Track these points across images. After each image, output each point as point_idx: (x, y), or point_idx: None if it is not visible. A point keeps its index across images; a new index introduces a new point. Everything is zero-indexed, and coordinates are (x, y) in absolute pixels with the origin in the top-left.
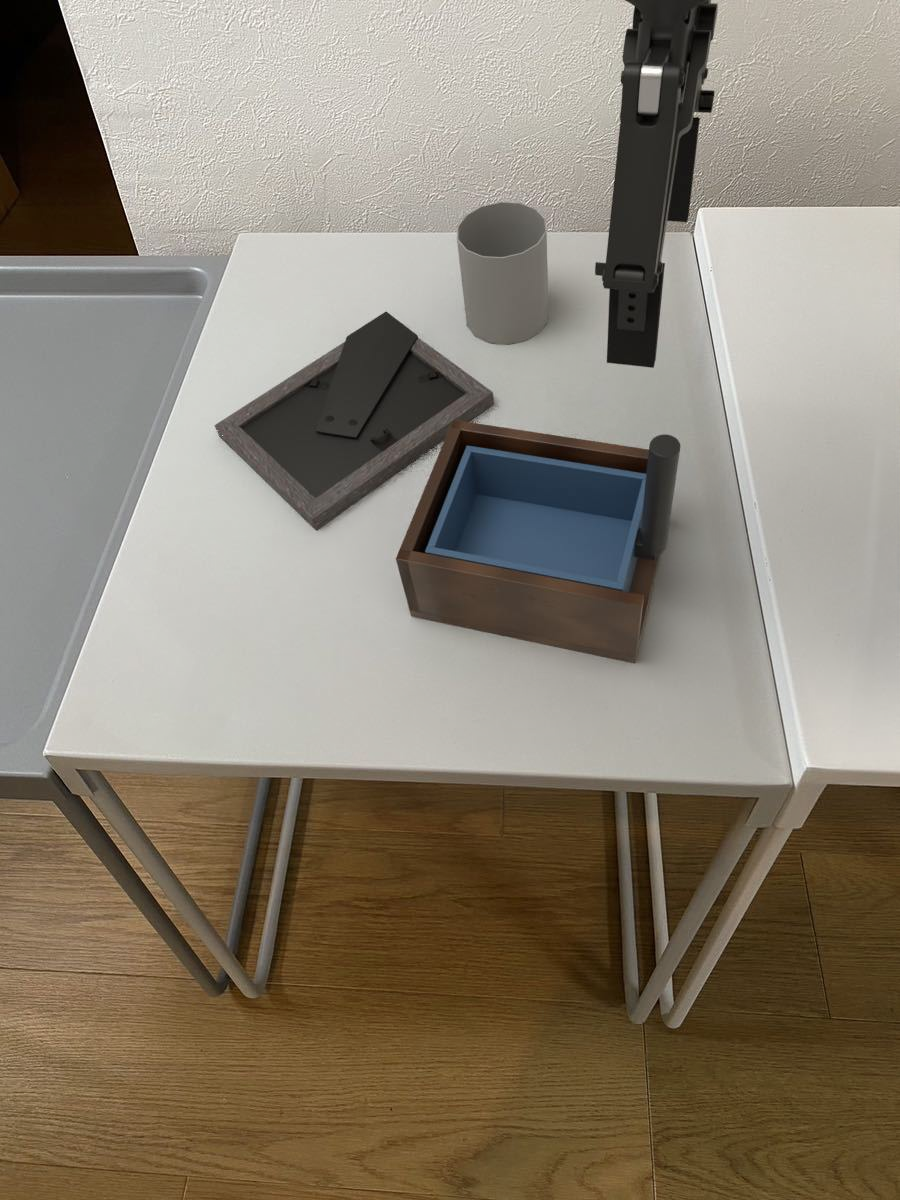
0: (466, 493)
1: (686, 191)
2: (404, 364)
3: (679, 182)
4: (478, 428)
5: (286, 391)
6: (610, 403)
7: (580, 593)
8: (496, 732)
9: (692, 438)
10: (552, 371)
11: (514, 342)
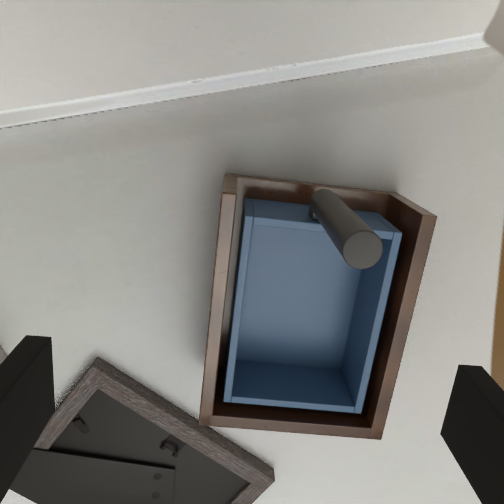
0: (258, 379)
1: (20, 386)
2: (67, 448)
3: (9, 415)
4: (208, 399)
5: None
6: (73, 245)
7: (420, 276)
8: (465, 297)
9: (109, 154)
10: (37, 308)
11: (3, 351)
